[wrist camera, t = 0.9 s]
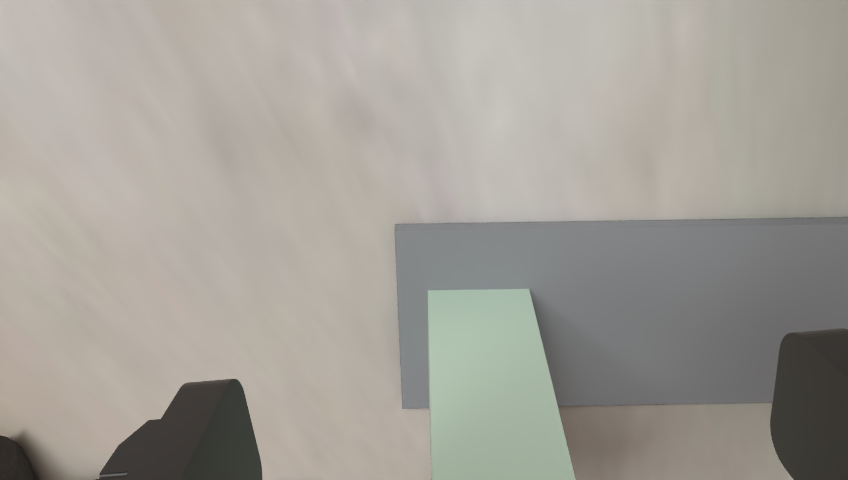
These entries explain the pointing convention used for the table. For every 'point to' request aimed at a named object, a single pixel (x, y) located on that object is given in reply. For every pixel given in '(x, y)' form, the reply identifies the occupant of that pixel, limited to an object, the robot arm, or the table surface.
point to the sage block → (491, 390)
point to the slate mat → (637, 300)
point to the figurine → (13, 461)
